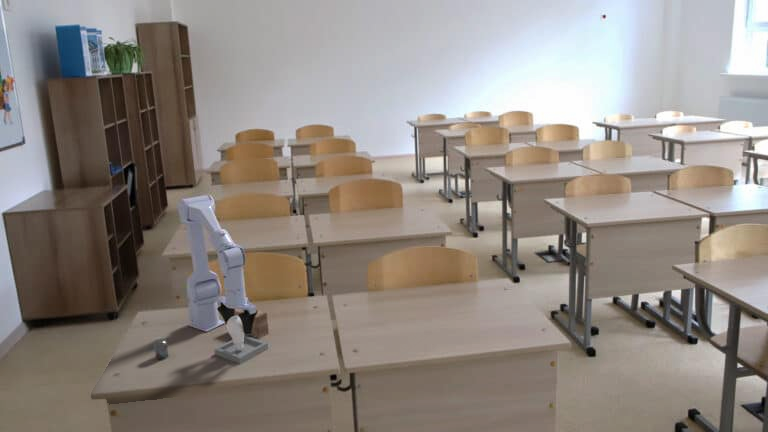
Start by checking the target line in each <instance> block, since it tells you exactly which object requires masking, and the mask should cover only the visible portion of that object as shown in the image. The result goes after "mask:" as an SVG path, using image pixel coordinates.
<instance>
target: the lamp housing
mask: <svg viewBox="0 0 768 432" xmlns="http://www.w3.org/2000/svg"><path fill="white" fill-rule="evenodd" d="M256 310H257V309H256ZM243 312H244V311H243V310H240V309H235V311H234V316H238V314H241V313H243ZM267 335H269V324H268V314H267V312H265V311H261V310H257V314H256V316H255V319H254V322H253V326H252V332H251V333H250V334H248V335H247V336H250V337H251V336H252V337H254V338H256V339H257V338H258V339H261V338H263V337H265V336H267Z"/></svg>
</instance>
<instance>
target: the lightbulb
mask: <svg viewBox="0 0 768 432" xmlns="http://www.w3.org/2000/svg"><path fill="white" fill-rule="evenodd" d="M225 326H226V327H225V328H226V331H227V333H228V334H229V336H230V337H231V338H232V339H231V340H233V343H234V346H235V350H238V351H241V350H242V349H243V348H244V346H243V342H244V335H245V334H244V330H243V325H242V322H241V319H240V318H239V316H233V317H231V318H230V319H229V320H228V322H227V324H225ZM245 336H246V335H245Z"/></svg>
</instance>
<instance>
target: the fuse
mask: <svg viewBox="0 0 768 432" xmlns="http://www.w3.org/2000/svg"><path fill="white" fill-rule="evenodd" d="M167 341H168V340H167V339H165V338H159V339H156V340H154V342H153V347H154V355H155V359H156V360H157V361H162V360H163V361H164V360H166V359H168V358H169V357H170V356H169V349H168V342H167Z"/></svg>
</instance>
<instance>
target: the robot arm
mask: <svg viewBox="0 0 768 432" xmlns="http://www.w3.org/2000/svg"><path fill="white" fill-rule="evenodd" d="M177 209H178V215H179V221H180V223H181V224H184V225H186V231H187V236H188V242H189V243H188V244H189V250H190V255H191V261H192V268H193V272H192V274H190V276H189V277H188V278H187V279H186V295H187V298H188V300H189V303H188V314H189V315H188V316H189V321H190V322H189V323H188V326H189V327H192V328H193V329H197V330H200V331H203V332H205V333H207V332H209V331H212V330H214V329H215V328H218V327H220V326H223V325H224V324H225V325H226V324H227V322H228V320H229V319H230V318H231V317H233V316H234V311H235V309H240V310H243V311H244V312H243V313H241V314H238V316H239V318H240V319H241V322H242V325H243V330H244V334H245V336H249V335H248V334H250V333H251V332H252V326H253V322H254V319H255V316H256V314H257V306H256V305H254V304H252V302H250V301H249V297H247V296H246V295H247V294H246V286H245V278H244V277H245V275H244V274H245V273H244V267H243V266H245V264H246V262H247V260H246V254H245V251H244V248H243V247H242V246H241V245H239V244H237V243H235V242H234V239H232V237H231V235H230V233H229V232H228V231H227V229H224V228H222V227H221V225H220V223H219V221H218V219H217V217H216V214H215V212H216V203H215V200H214V197H213V196H212V195H211V194H210V193H209V194H208V193H207V194H204V195H199V196H194V197H193V196H192V197H187V198H180V200H179V202H178V205H177ZM203 227H204V228H205V230H206V231H207V232H208V233H209V237H208V238H209V239H208V240H209V242H210V244H211V246H212V247H213V249H214V251H215V253H216V255H217V261H218V265H219V268H220V273H221V275H223V284H224V285H223V286H224V293H225V296H224V295H222V296H221V294H222V285H221V282H220V278H219V275H218V274H217V273H216V272H214V271H212V270H210V264H209V260H208V259H209V258H208V251H207V247H206V240H205V235H204V234H205V232H204V228H203ZM218 305H220V306H218ZM219 314H220V316H221V317H222V319H223V320H221V319H220V316H219Z"/></svg>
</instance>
